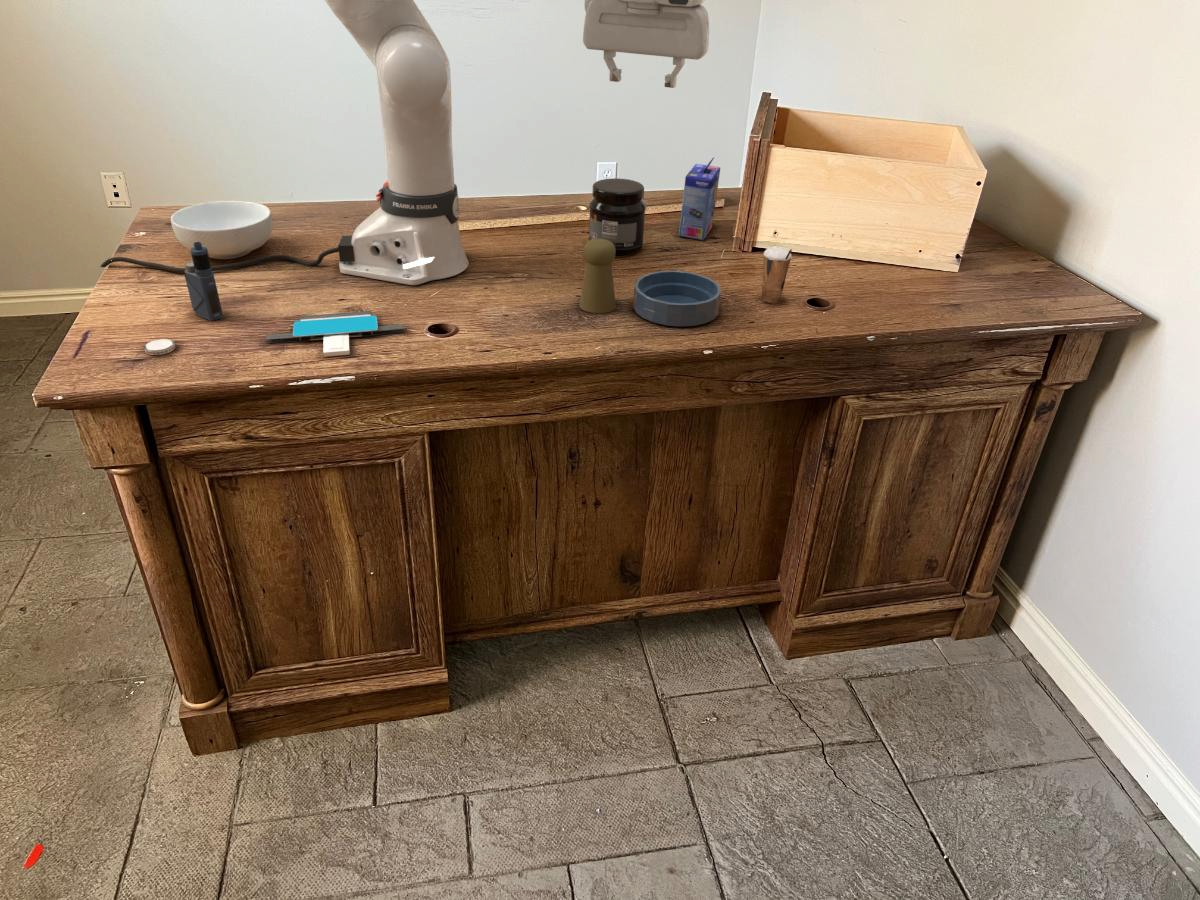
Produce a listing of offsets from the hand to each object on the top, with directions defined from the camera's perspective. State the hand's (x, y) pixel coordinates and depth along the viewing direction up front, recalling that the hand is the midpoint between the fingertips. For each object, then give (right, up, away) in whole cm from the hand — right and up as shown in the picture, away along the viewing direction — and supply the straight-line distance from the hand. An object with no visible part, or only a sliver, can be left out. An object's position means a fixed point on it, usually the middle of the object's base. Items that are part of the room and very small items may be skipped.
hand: (642, 84), depth 140 cm
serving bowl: (+6, -37, +2) cm, 37 cm away
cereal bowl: (-74, -24, +17) cm, 80 cm away
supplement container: (-4, -21, +24) cm, 33 cm away
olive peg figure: (-7, -36, +2) cm, 37 cm away
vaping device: (-68, -39, -6) cm, 79 cm away
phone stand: (-46, -43, -11) cm, 64 cm away
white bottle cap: (-70, -45, -16) cm, 85 cm away
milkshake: (+22, -34, +6) cm, 42 cm away
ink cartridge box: (+13, -16, +34) cm, 39 cm away
